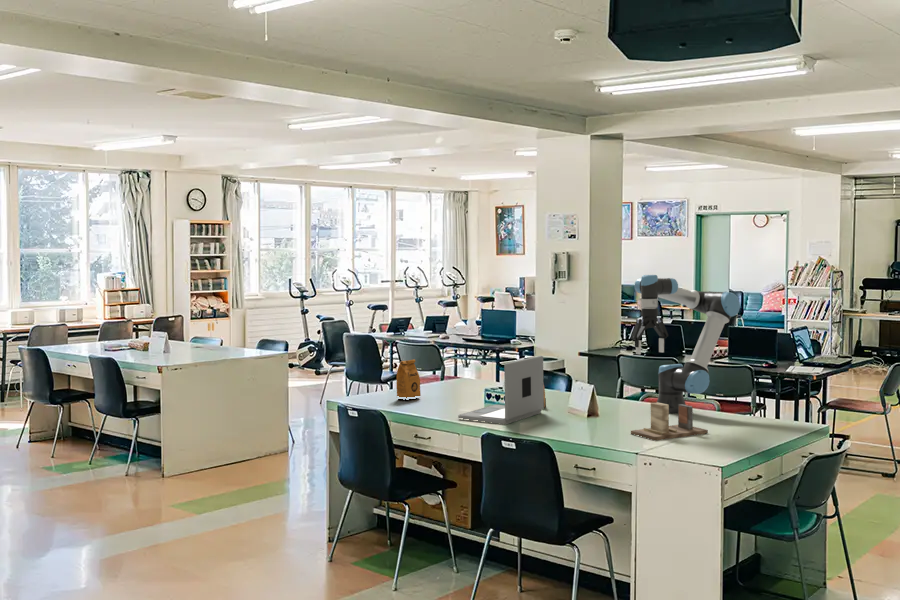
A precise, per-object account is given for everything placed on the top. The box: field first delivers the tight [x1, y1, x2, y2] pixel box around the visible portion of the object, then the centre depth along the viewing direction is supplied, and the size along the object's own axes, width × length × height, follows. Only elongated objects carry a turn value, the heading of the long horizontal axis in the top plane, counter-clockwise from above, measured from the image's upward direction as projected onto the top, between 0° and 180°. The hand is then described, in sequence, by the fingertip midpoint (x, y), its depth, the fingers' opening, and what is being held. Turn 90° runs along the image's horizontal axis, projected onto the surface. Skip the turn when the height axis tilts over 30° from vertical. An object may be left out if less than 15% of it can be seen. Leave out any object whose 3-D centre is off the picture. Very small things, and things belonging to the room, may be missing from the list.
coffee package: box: [395, 359, 422, 398], centre depth 493 cm, size 10×12×22 cm
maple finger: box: [650, 401, 670, 433], centre depth 386 cm, size 4×7×12 cm, turn 27°
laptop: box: [457, 355, 545, 425], centre depth 437 cm, size 36×28×29 cm
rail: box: [630, 404, 709, 441], centre depth 389 cm, size 29×16×12 cm, turn 116°
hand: (649, 353), depth 419 cm, fingers open, 13 cm apart
